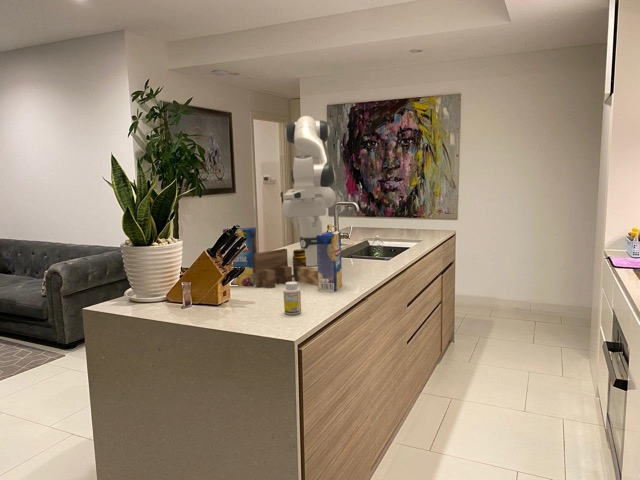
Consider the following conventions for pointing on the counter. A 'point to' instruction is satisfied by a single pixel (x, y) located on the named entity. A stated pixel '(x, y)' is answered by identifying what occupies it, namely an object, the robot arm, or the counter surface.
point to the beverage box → (329, 261)
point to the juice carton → (246, 257)
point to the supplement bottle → (292, 298)
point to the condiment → (298, 259)
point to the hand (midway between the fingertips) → (305, 227)
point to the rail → (306, 274)
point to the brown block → (272, 268)
